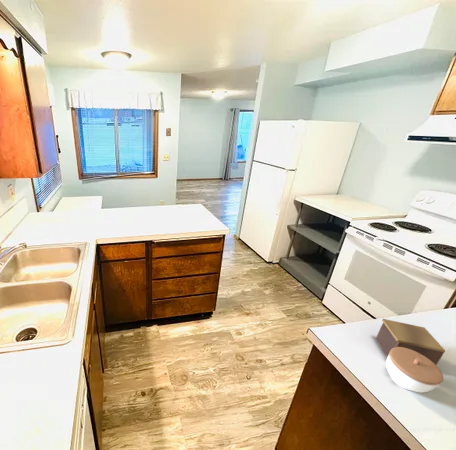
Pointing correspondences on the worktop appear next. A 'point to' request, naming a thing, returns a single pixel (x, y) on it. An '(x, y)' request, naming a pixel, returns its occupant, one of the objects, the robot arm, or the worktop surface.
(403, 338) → the gold box lid
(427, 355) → the brown hinged box
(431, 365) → the trinket box
